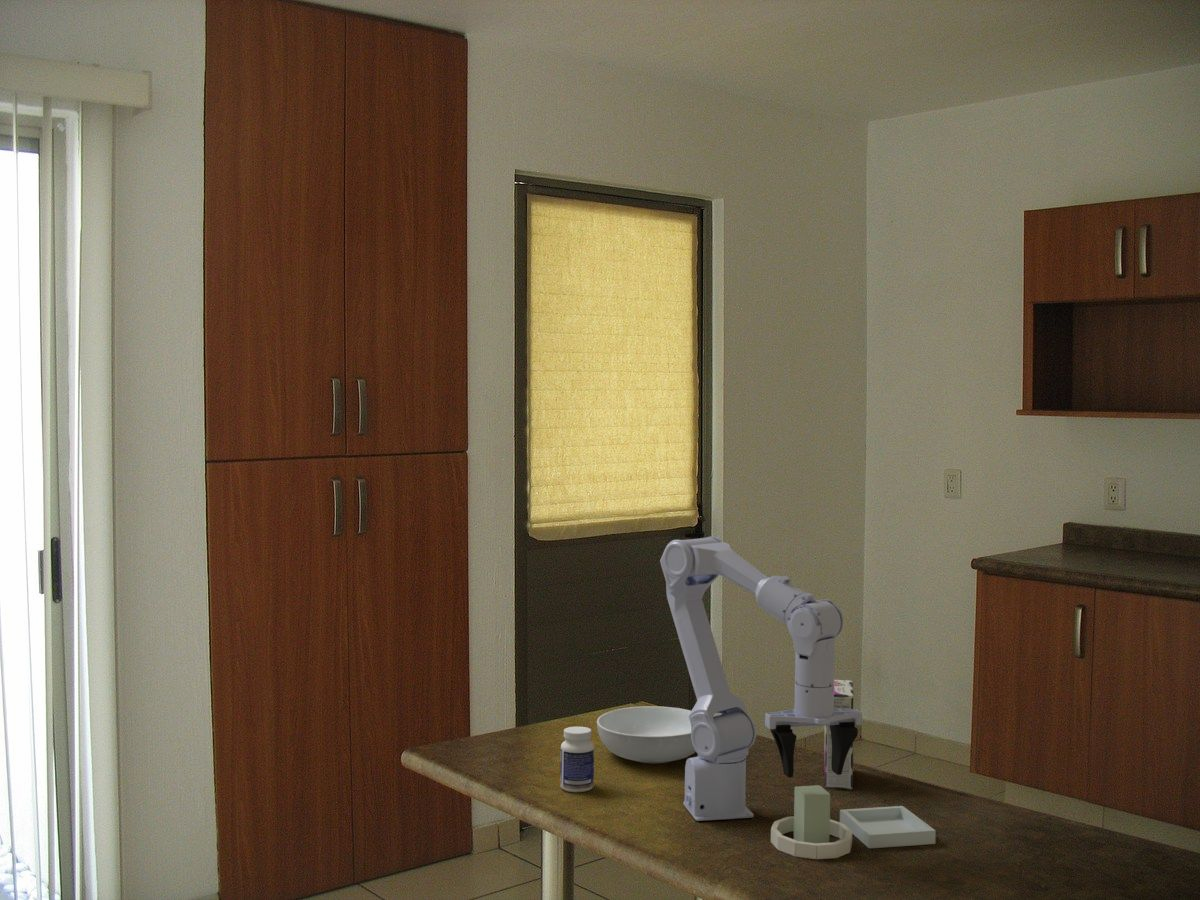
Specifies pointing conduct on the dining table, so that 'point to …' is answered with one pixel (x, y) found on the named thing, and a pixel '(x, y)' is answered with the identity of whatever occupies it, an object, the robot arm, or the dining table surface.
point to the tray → (887, 827)
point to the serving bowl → (647, 733)
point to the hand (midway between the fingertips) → (812, 774)
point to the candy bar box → (832, 780)
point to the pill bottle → (577, 760)
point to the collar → (809, 848)
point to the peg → (811, 814)
